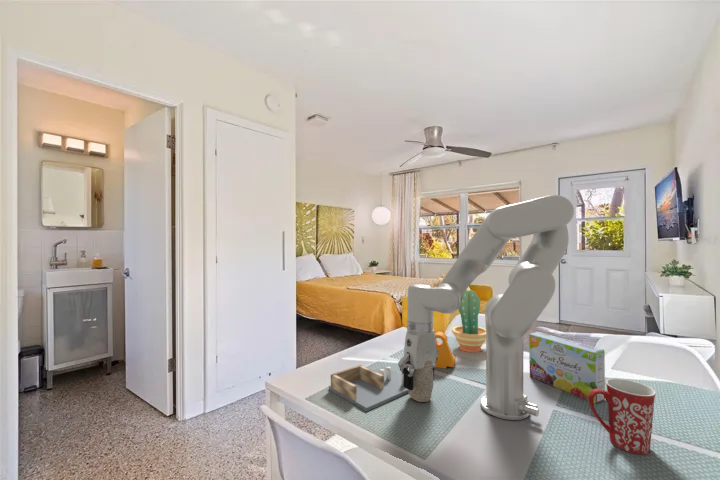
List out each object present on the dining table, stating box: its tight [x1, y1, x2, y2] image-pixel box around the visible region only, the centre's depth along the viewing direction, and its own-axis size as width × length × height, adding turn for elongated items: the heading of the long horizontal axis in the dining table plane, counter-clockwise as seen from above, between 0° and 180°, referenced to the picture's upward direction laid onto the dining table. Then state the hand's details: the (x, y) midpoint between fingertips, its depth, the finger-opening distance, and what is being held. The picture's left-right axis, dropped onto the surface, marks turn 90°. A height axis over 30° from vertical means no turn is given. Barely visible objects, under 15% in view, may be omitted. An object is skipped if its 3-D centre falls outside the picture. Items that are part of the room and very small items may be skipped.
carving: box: [408, 361, 435, 403], centre depth 100 cm, size 6×8×12 cm
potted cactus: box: [451, 289, 486, 353], centre depth 144 cm, size 15×15×25 cm
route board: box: [328, 366, 409, 412], centre depth 107 cm, size 18×24×5 cm
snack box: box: [528, 331, 606, 404], centre depth 106 cm, size 21×6×15 cm, turn 27°
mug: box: [587, 377, 657, 455], centre depth 78 cm, size 13×9×14 cm
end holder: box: [330, 364, 384, 400], centre depth 105 cm, size 12×12×4 cm
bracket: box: [434, 331, 456, 369], centre depth 127 cm, size 11×7×12 cm, turn 68°
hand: (419, 383), depth 100 cm, fingers open, 9 cm apart
